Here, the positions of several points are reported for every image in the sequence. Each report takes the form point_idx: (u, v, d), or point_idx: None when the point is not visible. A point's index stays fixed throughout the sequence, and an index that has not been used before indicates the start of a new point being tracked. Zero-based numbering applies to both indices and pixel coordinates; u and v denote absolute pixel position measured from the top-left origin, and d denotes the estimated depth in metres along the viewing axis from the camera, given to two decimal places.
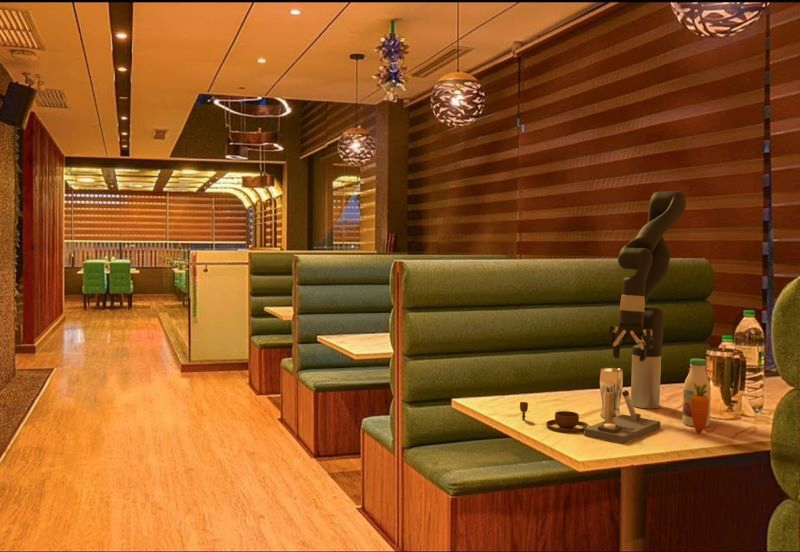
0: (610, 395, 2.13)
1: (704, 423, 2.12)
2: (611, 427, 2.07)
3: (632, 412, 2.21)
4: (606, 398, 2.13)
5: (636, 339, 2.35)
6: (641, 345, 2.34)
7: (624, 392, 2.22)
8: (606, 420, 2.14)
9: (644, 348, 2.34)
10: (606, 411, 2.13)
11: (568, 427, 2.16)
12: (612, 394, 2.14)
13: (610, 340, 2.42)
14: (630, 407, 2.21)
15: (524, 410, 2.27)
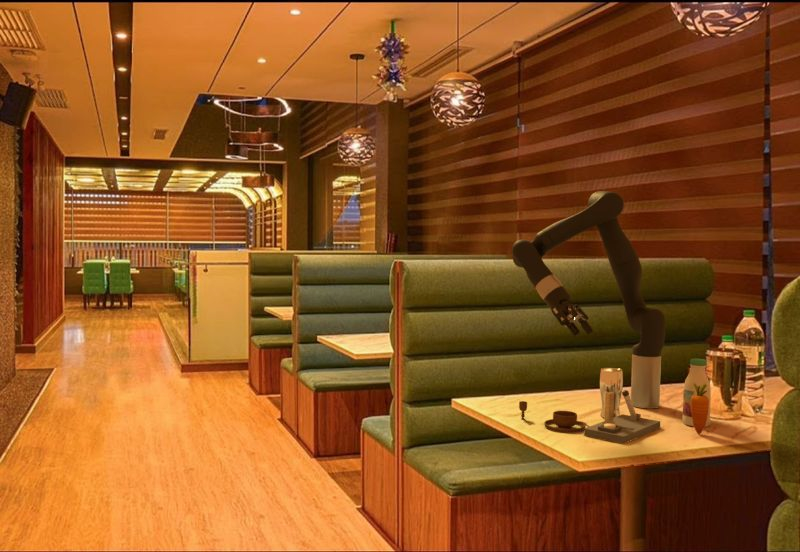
0: (610, 395, 2.13)
1: (704, 423, 2.12)
2: (611, 427, 2.07)
3: (632, 412, 2.21)
4: (606, 398, 2.13)
5: None
6: None
7: (624, 392, 2.22)
8: (606, 420, 2.14)
9: (565, 325, 2.22)
10: (606, 411, 2.13)
11: (566, 427, 2.16)
12: (612, 394, 2.14)
13: None
14: (630, 407, 2.21)
15: (523, 409, 2.27)
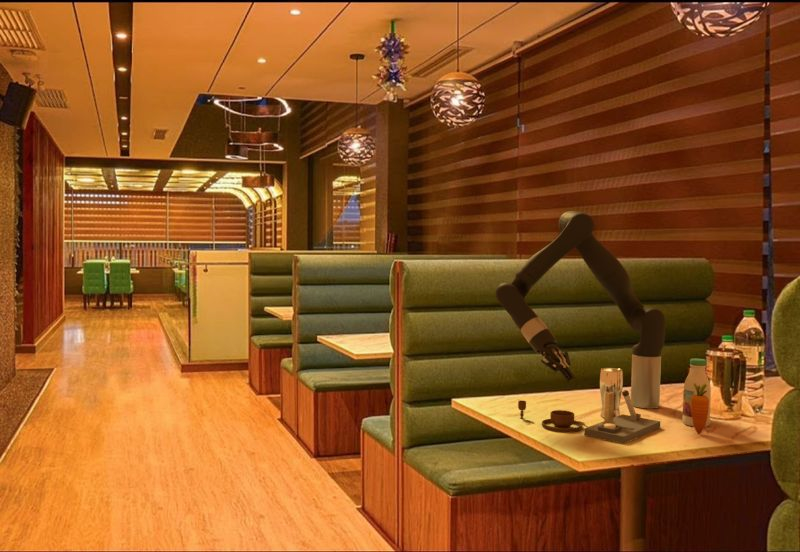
0: (610, 395, 2.13)
1: (704, 423, 2.12)
2: (611, 427, 2.07)
3: (632, 412, 2.21)
4: (606, 398, 2.13)
5: None
6: None
7: (624, 392, 2.22)
8: (606, 420, 2.14)
9: (560, 371, 2.24)
10: (606, 411, 2.13)
11: (563, 426, 2.17)
12: (612, 394, 2.14)
13: None
14: (630, 407, 2.21)
15: (522, 408, 2.28)
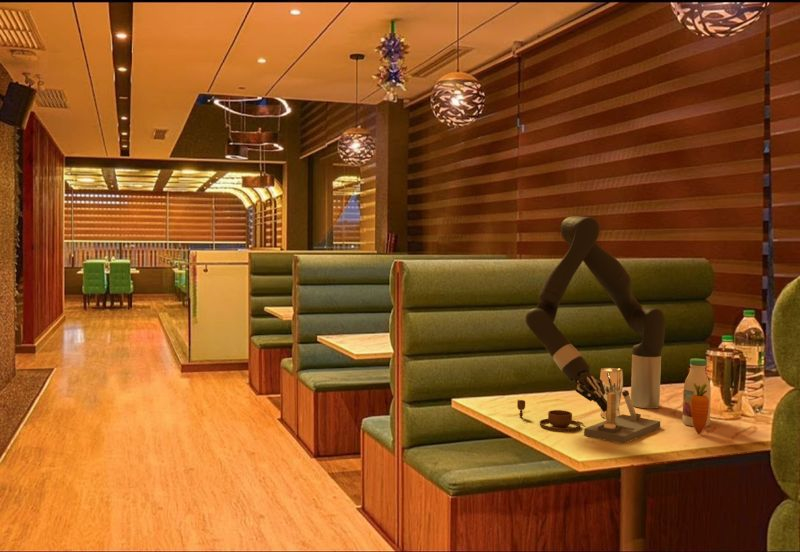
0: (612, 395, 2.13)
1: (704, 423, 2.12)
2: (611, 427, 2.07)
3: (632, 412, 2.21)
4: (608, 398, 2.13)
5: None
6: None
7: (624, 392, 2.22)
8: (608, 420, 2.13)
9: (595, 401, 2.16)
10: (608, 411, 2.13)
11: (560, 426, 2.17)
12: (614, 394, 2.14)
13: None
14: (630, 407, 2.21)
15: (521, 408, 2.29)
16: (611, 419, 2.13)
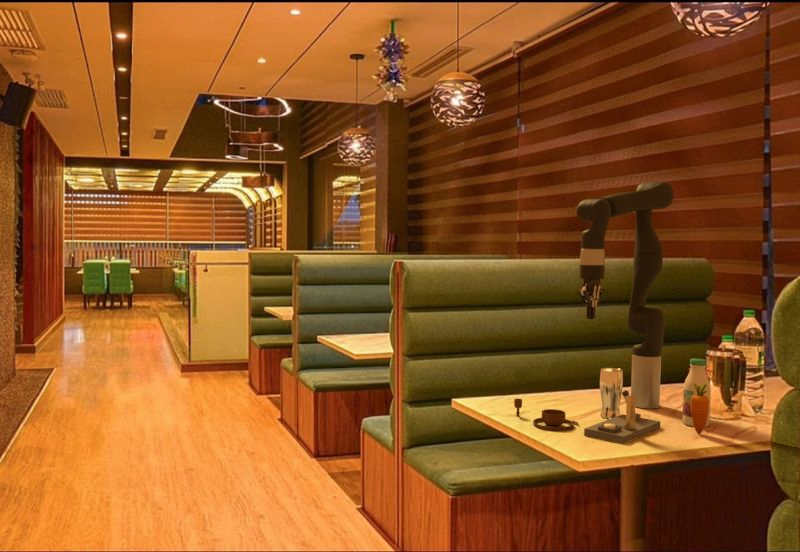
0: (631, 399, 2.09)
1: (704, 423, 2.12)
2: (611, 427, 2.07)
3: None
4: (627, 402, 2.09)
5: None
6: None
7: (624, 392, 2.22)
8: (627, 424, 2.09)
9: (586, 306, 2.30)
10: (627, 415, 2.09)
11: (552, 425, 2.18)
12: (633, 398, 2.10)
13: None
14: None
15: (517, 406, 2.31)
16: (630, 423, 2.09)
